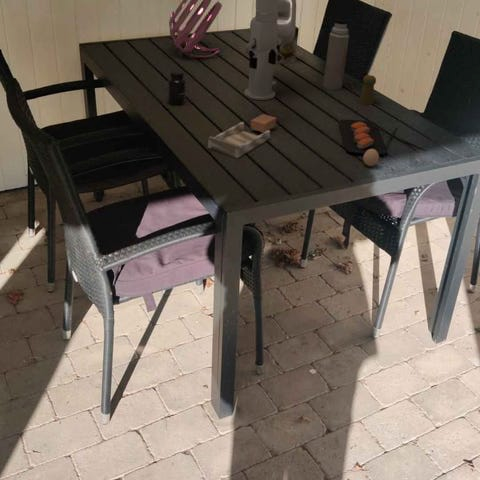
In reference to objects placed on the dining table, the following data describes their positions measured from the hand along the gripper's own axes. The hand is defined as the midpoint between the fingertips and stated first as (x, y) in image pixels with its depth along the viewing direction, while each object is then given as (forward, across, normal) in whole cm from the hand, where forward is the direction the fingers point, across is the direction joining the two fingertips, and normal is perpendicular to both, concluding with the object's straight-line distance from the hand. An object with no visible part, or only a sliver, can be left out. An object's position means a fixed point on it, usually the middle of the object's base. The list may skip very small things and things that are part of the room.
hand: (262, 65), depth 239 cm
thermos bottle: (+19, -52, -7) cm, 56 cm away
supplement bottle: (+20, +14, -31) cm, 40 cm away
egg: (+22, -3, +50) cm, 55 cm away
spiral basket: (+18, -32, -74) cm, 83 cm away
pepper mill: (+20, -49, +13) cm, 55 cm away
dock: (+21, +20, +11) cm, 31 cm away
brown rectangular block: (+21, +5, +8) cm, 23 cm away
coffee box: (+19, -59, -42) cm, 75 cm away
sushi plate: (+22, -23, +40) cm, 51 cm away
